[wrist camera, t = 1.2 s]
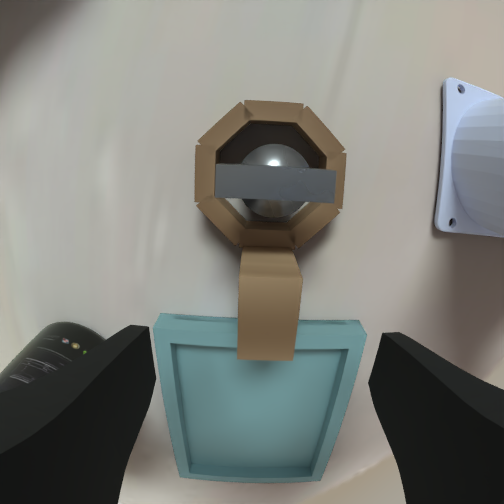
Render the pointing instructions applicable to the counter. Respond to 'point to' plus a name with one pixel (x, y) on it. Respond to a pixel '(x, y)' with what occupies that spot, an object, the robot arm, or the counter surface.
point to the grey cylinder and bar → (275, 181)
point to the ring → (268, 229)
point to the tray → (254, 399)
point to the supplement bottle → (48, 353)
